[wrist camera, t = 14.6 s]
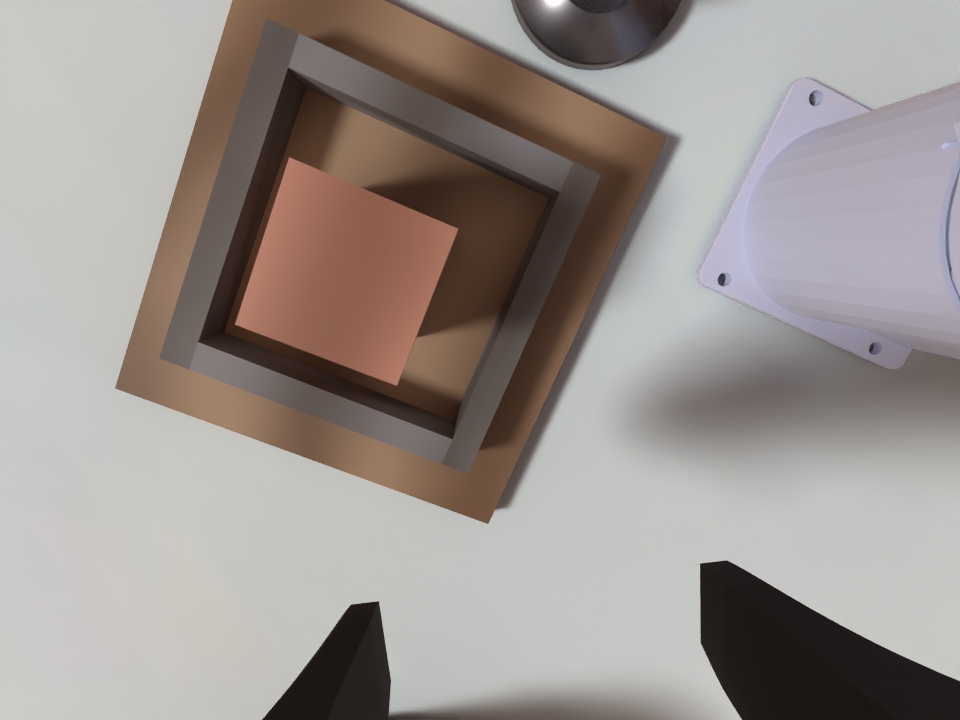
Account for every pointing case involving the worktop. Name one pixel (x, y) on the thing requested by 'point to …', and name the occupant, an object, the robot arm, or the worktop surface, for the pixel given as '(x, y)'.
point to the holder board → (412, 183)
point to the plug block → (344, 273)
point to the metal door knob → (593, 28)
